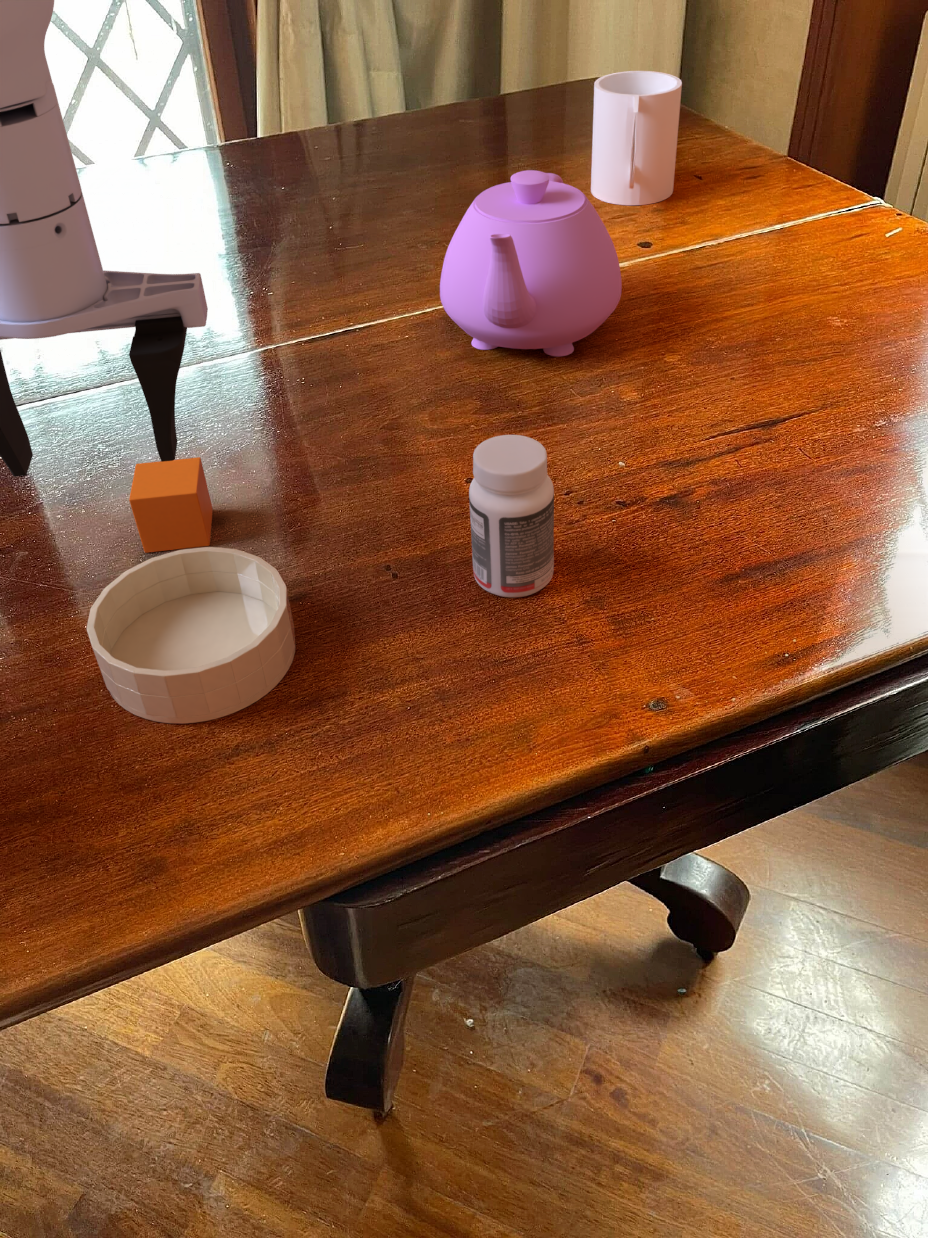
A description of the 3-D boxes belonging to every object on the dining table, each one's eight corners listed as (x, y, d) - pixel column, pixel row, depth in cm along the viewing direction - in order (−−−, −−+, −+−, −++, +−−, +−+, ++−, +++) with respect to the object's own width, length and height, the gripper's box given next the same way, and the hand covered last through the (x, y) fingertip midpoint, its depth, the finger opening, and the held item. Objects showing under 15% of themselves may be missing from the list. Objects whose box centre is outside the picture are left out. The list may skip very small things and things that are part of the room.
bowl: (92, 735, 56) (74, 686, 54) (116, 605, 64) (100, 557, 61) (296, 711, 57) (286, 661, 54) (295, 585, 64) (286, 537, 62)
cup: (586, 219, 105) (589, 108, 98) (593, 175, 114) (596, 70, 107) (673, 220, 104) (682, 108, 97) (673, 175, 112) (681, 70, 106)
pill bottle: (565, 560, 65) (568, 439, 60) (535, 608, 62) (535, 485, 56) (492, 542, 67) (488, 423, 61) (459, 588, 64) (452, 466, 58)
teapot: (592, 405, 78) (599, 239, 70) (405, 386, 82) (391, 225, 74) (635, 287, 93) (645, 138, 85) (474, 275, 96) (469, 130, 88)
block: (144, 553, 67) (128, 499, 65) (150, 516, 70) (135, 463, 68) (209, 546, 68) (196, 492, 65) (213, 509, 71) (200, 456, 68)
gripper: (185, 159, 53) (236, 407, 62) (-123, 185, 52) (-27, 433, 61) (174, 212, 47) (231, 475, 56) (-170, 242, 46) (-57, 505, 55)
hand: (96, 458), depth 58 cm, fingers open, 7 cm apart
